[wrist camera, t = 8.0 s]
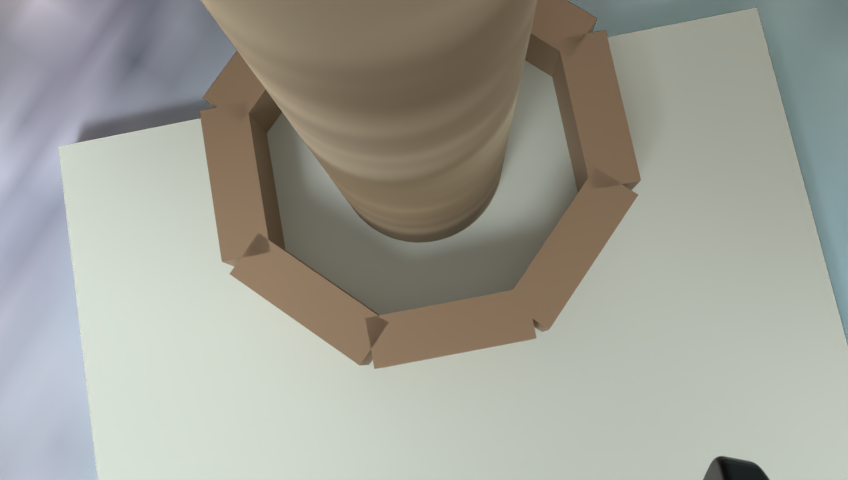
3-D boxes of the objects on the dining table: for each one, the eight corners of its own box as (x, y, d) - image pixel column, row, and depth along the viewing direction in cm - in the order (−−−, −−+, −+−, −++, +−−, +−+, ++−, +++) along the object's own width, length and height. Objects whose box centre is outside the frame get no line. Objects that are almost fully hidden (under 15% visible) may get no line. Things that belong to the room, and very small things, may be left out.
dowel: (415, 277, 17) (309, 94, 5) (305, 158, 18) (-15, -250, 6) (535, 165, 17) (694, -249, 6) (424, 51, 18) (350, -551, 6)
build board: (136, 694, 17) (89, 742, 15) (60, 63, 19) (10, 27, 17) (891, 558, 16) (952, 587, 14) (723, -71, 19) (755, -125, 16)
